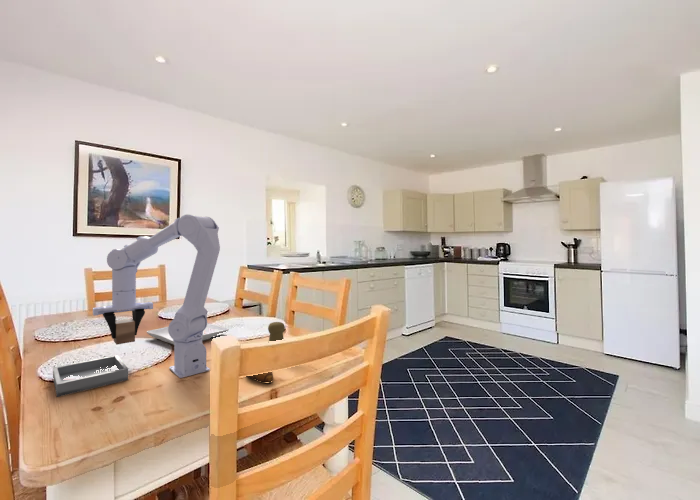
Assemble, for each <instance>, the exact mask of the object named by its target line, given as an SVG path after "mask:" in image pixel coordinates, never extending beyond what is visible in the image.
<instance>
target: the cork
mask: <svg viewBox="0 0 700 500" xmlns="http://www.w3.org/2000/svg"><path fill="white" fill-rule="evenodd" d="M285 329H286V327H285V323H283V322H281V321H273V322H270V323H269V325H268V326H267V330H268V333H269V337H268V342H269V341H276V340H282V339H284V332H285ZM284 340H285V339H284Z"/></svg>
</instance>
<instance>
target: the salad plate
mask: <svg viewBox="0 0 700 500" xmlns="http://www.w3.org/2000/svg"><path fill="white" fill-rule="evenodd" d="M168 327H169V326H165V327H161V328H160V327H159V328H157V329H156V328H155V329H151V330H146V333H147V335H148V336H150V337H152V338H154V339H157V340H159V341H162V342H165V343H168V344H170V345H173V346H174V341H173V339H172V338H171V336H170V335H169V332H168ZM206 328H210V329H218V330H223V331H219V332H214V333H209V334H204V331H203V335H202V342H203V341H208V340H211V339H212V338H211V337H213V336H217V334H219V333H223V332H226V331H227V332H229V328H227V327H224V326H220V325H217V324H213V323H208V322H207V327H206ZM227 332H226V333H227ZM217 337H218V336H217ZM210 338H211V339H210Z"/></svg>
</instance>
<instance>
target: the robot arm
mask: <svg viewBox="0 0 700 500" xmlns="http://www.w3.org/2000/svg"><path fill="white" fill-rule="evenodd" d="M219 230H220V227H219V225H218V224H217V223H216V221H215V220H214V219H213V218H212V217H210V216H199V215H194V214H189V213H186V214H184V215H182V216H181V217H177V218H175V219H174V221H173V222H172V223H170V224H169V225H167V226H165V227H164V228H163V229H161V230H159V231H158V232H157V233H155V234H153V235H152V236H146V235H145V236H143V235H142V236H138V237H136V240H135V241H133V242H132V243H129V244H125V245H124V246H123V248H122V249H119V248H115V249H112V250H111V251H110V252H109V253H108V254H107V256H106V263H107V265H108V267H109V268H110V269H112V270H111V278H112V279H111V283H112V284H111V287H112V288H111V294H112V296H111V298H112V299H111V301H112V304H110V305H103V306H97V307H92V316H94V317H95V316H99V315H102V316H103V318H104V320H105V321H106V324H107V326H108V328H109V331H110V335H111V339H113V340H114V339H115V338H116V330H115V322H116V321H117V316H116V313H118V314H119V313H125V312H131V315H132V316H131V317H132V319H133V320H134V321H135V336H137V335H138V330H139V326H140V324H141V321H142V320H143V317H144V316H145V314H146V311H145V310H153V309H154V302H152V301H146V302H137V281H136V280H137V273H138V269H139V268H138V267H139V266H140V265H141V263H142V261H145V260H146V259H148V258H150V257H152V256H153V255H156V254H157V252H158V250H159V248H160V247H161V246H163V245H165V244H167V243H169V242H172V241H173V240H175V239H177V238H180V237H183V238H185V240H187V241H188V242H189V243H191V244H192V245H193V247H194V248H195V249H196V251H197V253H196V257H195V260H194V262H193V263H194V264H193V268H192V272H191V275H190V279H189V282H188V286H187V289H186V292H185V297H184V300H183V303H182V305H181V306H180V308H179V309H178V310H177V311H176V312H175V315H174V318H173V319H172V320H171V321H170V322H169V325H168V326H167V327H168V332H169V335H170V336H171V338H172V339H173V341H174V345H173V346H174V347H173V349H174V356H173V358H174V360H173V363H174V365H171V366H169V367H168V368H169V370H171V371H172V373H174V374H175V376H177V377H178V378H180V379H181V378H186V377H190V376H193V375H196V374H201V373H204V372H208V371H210V369H211V368H209V367H208V366H207V347H206V346H205V345H204V344H203V341H202V335H203V331H204V330H205V329H206V327H207V323H208V310H207V309H206V307H205V305H206V300H207V297H208V294H209V290H210V287H211V283H212V279H213V276H214V273H215V268H216V265H217V261H218V257H219V254H220V251H221V245H220V240H219Z"/></svg>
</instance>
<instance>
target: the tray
mask: <svg viewBox="0 0 700 500" xmlns="http://www.w3.org/2000/svg"><path fill="white" fill-rule="evenodd" d="M114 365H116V366H117V368H118V369H119V370H115V371H111V369H110V371H109V369H108V372H107V371H105V369H107V368H111V367H112V366H114ZM107 366H108V367H107ZM100 367H101V368H100ZM106 367H107V368H106ZM100 369H102V370H103V369H104V370H103V371H102V370H101V373H100ZM96 370H99V373H98V371H97V373H96ZM94 372H95V373H94ZM70 375H73V376H78V375H79V376H80V377H81V376H82V377H83V378H79V379H74V380H63V379H64V378H66V377H68V376H69V377H70ZM85 376H86V377H85ZM53 378H54V381H53V386H54V389H55V395H56V398H59V397H60V398H61V397H63V396H68V395H72V394H76V393H80V392H84V391H88V390H92V389H97V388H100V387H105V386H109V385H114V384H117V383H120V382H121V383H122V382H125V381H129V368H128V366H127V365H126V364H125V362H124V361H123V360H122V359H121V358H120V356H119V355H118V354H116V355H112V356H111V355H109V356H107V357H100V358H95V359H90V360H85V361H79V362H74V363H70V364H64V365H59V366H54V367H52V379H53Z"/></svg>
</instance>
